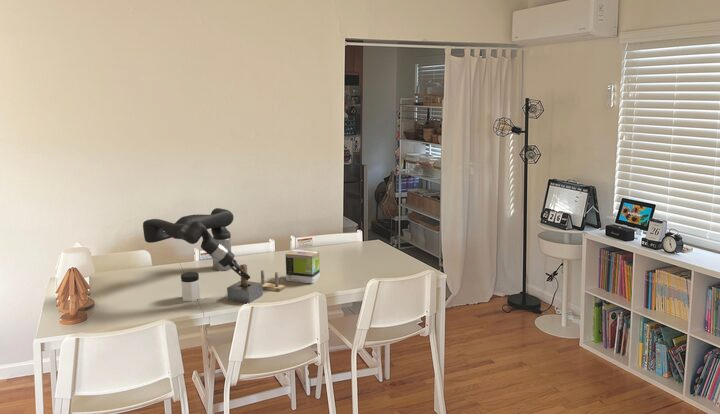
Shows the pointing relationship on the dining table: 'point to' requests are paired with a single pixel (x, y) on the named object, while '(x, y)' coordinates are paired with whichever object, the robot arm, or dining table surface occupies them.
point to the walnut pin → (243, 281)
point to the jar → (190, 286)
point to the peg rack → (271, 286)
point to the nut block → (245, 292)
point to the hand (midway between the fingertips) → (247, 275)
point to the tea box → (302, 266)
